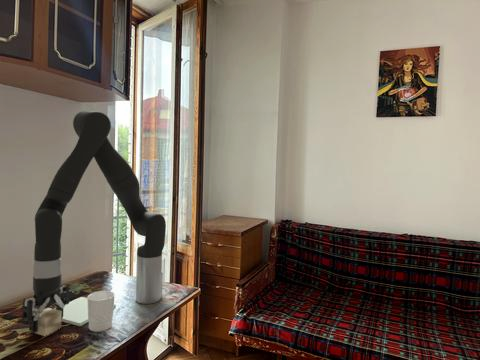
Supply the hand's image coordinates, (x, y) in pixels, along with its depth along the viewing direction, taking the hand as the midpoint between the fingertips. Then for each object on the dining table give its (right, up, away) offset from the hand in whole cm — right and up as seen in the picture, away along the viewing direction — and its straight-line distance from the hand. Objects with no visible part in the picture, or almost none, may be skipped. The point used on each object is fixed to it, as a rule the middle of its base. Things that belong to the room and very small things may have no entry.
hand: (46, 325), depth 104 cm
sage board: (+4, -1, +14) cm, 14 cm away
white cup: (+15, -2, +4) cm, 15 cm away
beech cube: (0, -2, 0) cm, 2 cm away
